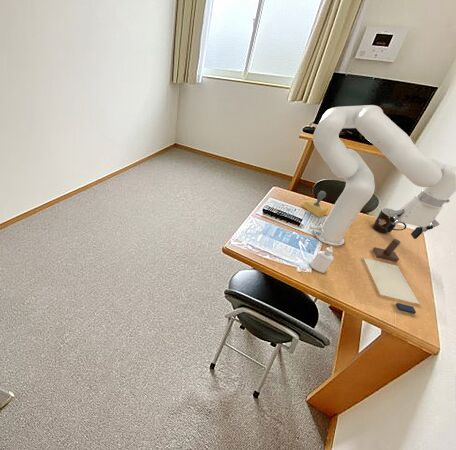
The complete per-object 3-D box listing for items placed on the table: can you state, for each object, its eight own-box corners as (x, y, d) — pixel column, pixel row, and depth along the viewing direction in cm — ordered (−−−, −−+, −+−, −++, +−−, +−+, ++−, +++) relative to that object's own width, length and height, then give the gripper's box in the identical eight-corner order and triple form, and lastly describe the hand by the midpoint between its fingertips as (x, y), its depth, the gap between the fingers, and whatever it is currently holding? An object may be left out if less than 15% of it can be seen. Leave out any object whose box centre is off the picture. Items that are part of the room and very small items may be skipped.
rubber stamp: (302, 206, 147) (311, 187, 139) (309, 204, 149) (319, 185, 142) (318, 217, 140) (329, 197, 132) (325, 214, 142) (336, 195, 135)
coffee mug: (366, 223, 139) (377, 207, 133) (382, 224, 139) (395, 208, 133) (380, 238, 130) (393, 221, 124) (397, 239, 130) (411, 223, 124)
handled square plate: (374, 259, 118) (388, 242, 112) (371, 251, 121) (384, 235, 115) (395, 263, 116) (410, 247, 110) (390, 256, 120) (405, 239, 114)
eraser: (396, 311, 96) (400, 308, 95) (393, 305, 98) (397, 302, 97) (412, 315, 95) (416, 312, 94) (409, 309, 97) (413, 306, 96)
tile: (379, 296, 101) (380, 294, 101) (362, 259, 117) (363, 258, 116) (418, 305, 99) (420, 304, 98) (395, 267, 114) (397, 265, 114)
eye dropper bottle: (319, 274, 107) (333, 253, 100) (308, 264, 111) (321, 243, 104) (327, 272, 109) (342, 250, 101) (315, 262, 113) (329, 241, 105)
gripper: (451, 199, 102) (418, 233, 112) (401, 188, 104) (374, 223, 115) (463, 210, 96) (427, 245, 107) (409, 198, 99) (380, 233, 109)
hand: (399, 233), depth 111 cm, fingers open, 9 cm apart
